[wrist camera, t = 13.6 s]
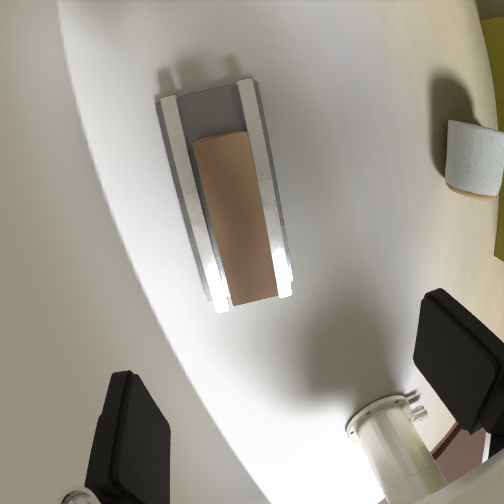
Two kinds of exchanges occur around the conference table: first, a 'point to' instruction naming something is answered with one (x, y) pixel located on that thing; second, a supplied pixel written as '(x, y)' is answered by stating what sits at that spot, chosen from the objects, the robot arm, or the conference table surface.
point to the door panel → (236, 215)
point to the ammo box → (497, 103)
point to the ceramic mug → (474, 160)
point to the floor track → (189, 182)
